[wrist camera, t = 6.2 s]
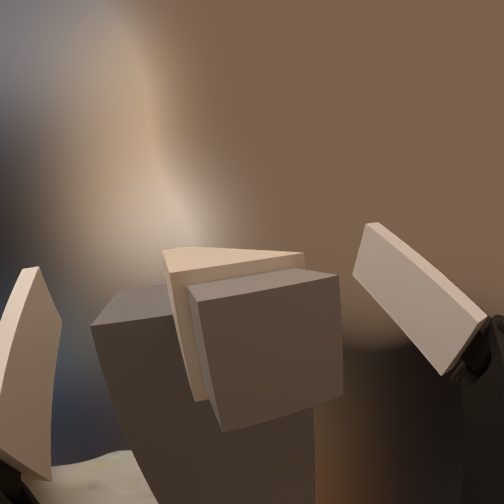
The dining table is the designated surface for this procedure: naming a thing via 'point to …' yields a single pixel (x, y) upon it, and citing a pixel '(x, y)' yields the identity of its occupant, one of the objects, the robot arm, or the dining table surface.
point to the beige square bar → (255, 331)
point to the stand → (192, 417)
